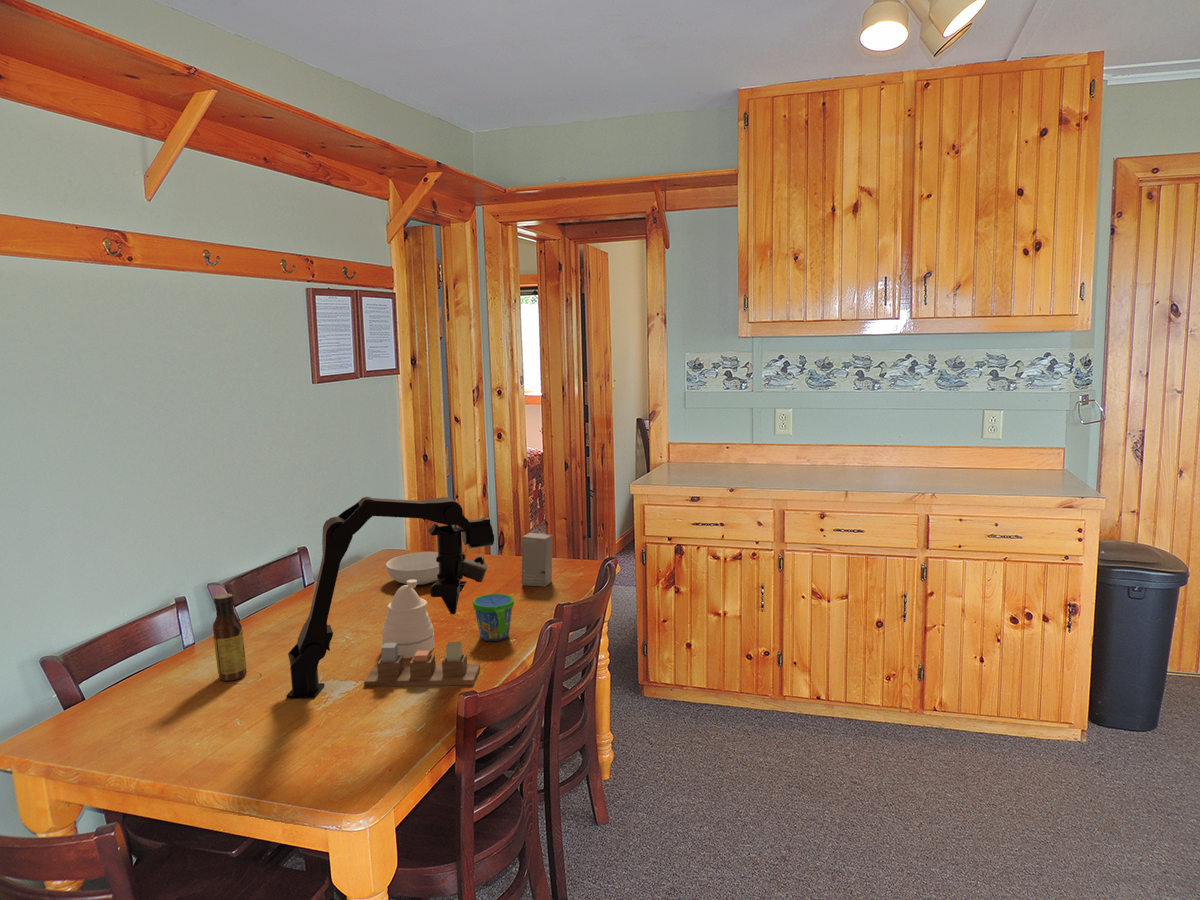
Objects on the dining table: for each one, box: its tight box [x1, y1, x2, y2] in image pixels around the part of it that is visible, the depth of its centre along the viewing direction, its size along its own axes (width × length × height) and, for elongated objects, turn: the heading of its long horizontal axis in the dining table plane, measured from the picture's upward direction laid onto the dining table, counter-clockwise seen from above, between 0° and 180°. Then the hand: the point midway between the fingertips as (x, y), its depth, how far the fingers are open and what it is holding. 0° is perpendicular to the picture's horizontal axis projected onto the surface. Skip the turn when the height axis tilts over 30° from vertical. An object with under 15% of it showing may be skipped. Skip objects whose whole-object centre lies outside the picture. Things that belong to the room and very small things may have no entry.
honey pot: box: [381, 579, 435, 659], centre depth 206 cm, size 13×13×18 cm
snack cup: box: [472, 593, 515, 642], centre depth 213 cm, size 16×10×10 cm
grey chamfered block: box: [380, 643, 399, 663], centre depth 189 cm, size 3×3×5 cm
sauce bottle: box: [212, 593, 247, 682], centre depth 191 cm, size 7×6×20 cm
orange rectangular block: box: [414, 650, 431, 662], centre depth 189 cm, size 3×3×5 cm
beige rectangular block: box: [445, 641, 463, 662], centre depth 188 cm, size 3×3×5 cm
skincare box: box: [521, 532, 553, 588], centre depth 258 cm, size 8×7×16 cm
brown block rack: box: [363, 653, 481, 687], centre depth 189 cm, size 9×25×5 cm, turn 89°
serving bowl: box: [385, 551, 440, 586], centre depth 264 cm, size 21×21×7 cm
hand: (453, 613), depth 195 cm, fingers closed
